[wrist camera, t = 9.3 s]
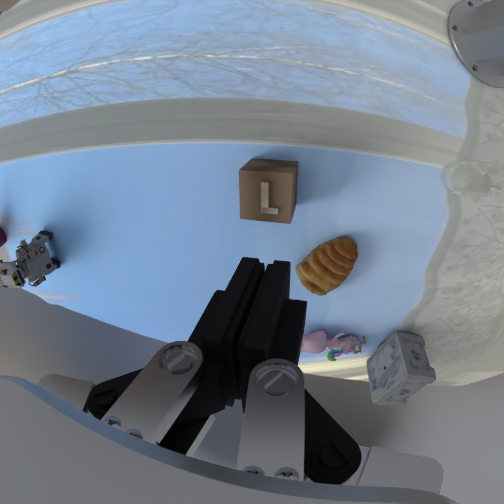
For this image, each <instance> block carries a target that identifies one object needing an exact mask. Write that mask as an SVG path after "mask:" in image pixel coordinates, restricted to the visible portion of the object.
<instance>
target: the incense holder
mask: <svg viewBox="0 0 504 504" xmlns="http://www.w3.org/2000/svg"><path fill="white" fill-rule="evenodd" d="M424 347H425V343H424V339H423V337H422V336H419V335H413V334H409V333H405V332H401V331H394V332H393V333H392V334H391V335H390V337H389V338H388V339H387V340H386V342H384V343H381V344H380V346H379V347H378V349H377V351H376V352H375V353H374V354H373V355H372V356H371V357H370V358H369V359H368V360H367V371H368V376H369V382H370V390H371V395H372V402H373V403H374V404H380V405H401V406H402V405H405V404H406V402H407V399H408V398H409V397H410V396H411V395H413V394H414V393H416V392H417V391H418V390H420V389H421V388H422V387H424V386H425V385H426V384H431V383H433V382H434V381H435V380H436V375H435V370H434V368H432V367H430V365H429V361H428V358H427V355H426V352H425V348H424Z"/></svg>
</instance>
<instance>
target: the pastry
mask: <svg viewBox="0 0 504 504" xmlns="http://www.w3.org/2000/svg"><path fill="white" fill-rule="evenodd" d="M357 257H358V255H357V244H356V243H355V242H354V241H353V240H351V239H349V238H345V237H339V238H335V239H334V240H331V241H329V242H326V243H324V244H323V245H319V246H317V248H316V249H314V250H312V251H311V252H310V254H309V255H308V256H307V257H306V258H304V259H303V261H302V262H301V263H300V264H298V265H297V266H296V273H297V275H298V278H299V279H300V280H301V283H302V284H303V285H304V286H305V287H306V288H307V289H308V290H309V291H310V292H312V293H314V294H317V295H326V294H327V293H328V292H330V291H332V290H334V289H335V288H337V287H339V286H340V284H341V283H342V282H343V281H344V280H345V279H346V278H347V276H348V275H349V274H350V271H351V270H352V268H353V265H354V262H355V260H356V259H357Z"/></svg>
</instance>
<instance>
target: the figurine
mask: <svg viewBox="0 0 504 504" xmlns="http://www.w3.org/2000/svg"><path fill="white" fill-rule="evenodd" d="M51 239H53V236H52V233H49V232H46V231H40V232H39V234H38V235H36V236H35V237H34V238H33V239H32V241H31V243H29V244H28V245H27V243H26V242H25V239H24V240H22V241H21V243H20V244H21V245H20V246H19V247H20V248H19V247H17V248H19V249H18V250H16V257H17V260H16V261H12V262H2V260H0V262H2V263H0V284H1V285H3V287H16V288H21V287H22V286H23V287H24V285H25V283H26V281H25V279H24V278H27V279H28V280H29V281H30V282H33V281H35V280H36V279H38V280H37V281H36V282H35V283H33V284H34V285H31V286H35V287H36V286H38V285H39V284H40V283H42V282H43V281H45V280H46V278H45V275H48V274H50V273H51V272H53V271H54V270H56V269H58V268H59V267H61V266H60V262H59V261H57V260H56V261H55V260H54V259H52V258H50V254H49V251H48V249H47V248H46V246H45V244H44V243H45V242H47V241H48V240H51ZM16 262H17V264H18V265H16V264H15V263H16ZM23 276H24V277H23ZM42 276H43V277H42ZM29 284H30V283H29Z"/></svg>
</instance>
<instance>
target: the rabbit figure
mask: <svg viewBox="0 0 504 504" xmlns="http://www.w3.org/2000/svg"><path fill="white" fill-rule="evenodd" d="M344 334H345V332H341V333H339V334H337V335H336V336H334V337H333V338H332V339H330V340H328V339H327V334H326V332H325V331H324V330H320V331H314V332H311V333H309V334H308V335H307V334H303V339H302V345H301V350H300V352H301V351H306V352H309V353H313V354H317V353H321V352H323V351H324V350H325V348H326V346H328V347H329V350H330V352H329V353H328V355H327V358H328V359H329V360H330V361H336V359H335V358H334V357H337V356H340V355H341V354H342V353H344V354H348V353H349V352H353V353H355V354H356V353H358V352H360V353H361V346H359V350H358V351H356V349H355V346H354V345H357V344H359V345H361V344H362V343H366V341H365V337H363V342H360V341H359V340H358V339H357V337H356V336H355V335H349V336H346V337H343V338H341V339H339V338H338V337H339V336H342V335H344ZM365 345H366V344H365ZM333 348H338V349H339V350H340V351H339V350H333ZM361 354H362V353H361Z"/></svg>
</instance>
